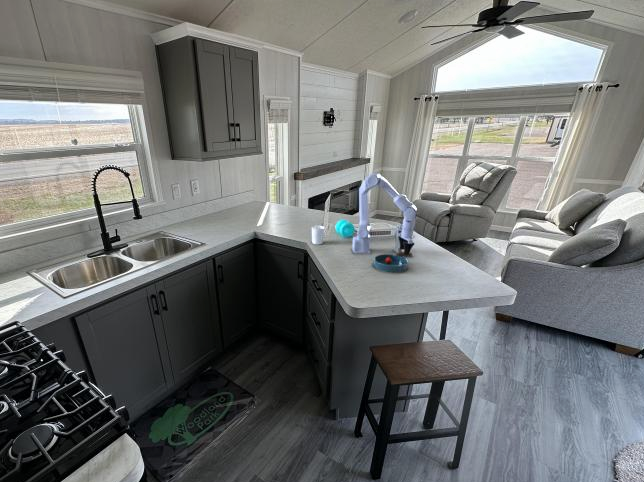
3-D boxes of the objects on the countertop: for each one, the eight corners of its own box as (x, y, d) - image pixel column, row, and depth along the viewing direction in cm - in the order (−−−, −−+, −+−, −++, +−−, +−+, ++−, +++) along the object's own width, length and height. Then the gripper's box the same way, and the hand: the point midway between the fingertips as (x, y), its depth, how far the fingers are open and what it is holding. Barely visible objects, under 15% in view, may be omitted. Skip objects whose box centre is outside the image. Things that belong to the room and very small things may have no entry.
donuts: (340, 238, 210) (341, 223, 206) (334, 234, 219) (335, 219, 215) (354, 237, 212) (355, 222, 208) (348, 232, 221) (349, 218, 217)
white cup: (310, 241, 208) (310, 226, 204) (322, 240, 209) (323, 225, 205) (312, 245, 201) (313, 229, 197) (325, 244, 202) (326, 229, 198)
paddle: (396, 257, 180) (397, 253, 179) (395, 256, 181) (396, 252, 180) (411, 257, 179) (412, 253, 178) (410, 256, 181) (411, 252, 180)
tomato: (385, 264, 172) (386, 262, 169) (384, 258, 173) (386, 256, 170) (390, 264, 172) (392, 262, 169) (390, 258, 173) (392, 256, 170)
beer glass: (406, 253, 184) (410, 227, 178) (393, 253, 185) (397, 227, 179) (404, 249, 190) (408, 224, 184) (392, 248, 191) (395, 224, 185)
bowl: (377, 273, 162) (378, 266, 160) (370, 260, 176) (371, 254, 175) (410, 273, 160) (412, 266, 159) (401, 260, 175) (402, 254, 174)
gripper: (420, 232, 167) (416, 256, 172) (411, 224, 180) (407, 247, 185) (406, 232, 167) (402, 256, 173) (398, 224, 181) (395, 247, 186)
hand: (404, 251), depth 179 cm, fingers open, 7 cm apart
